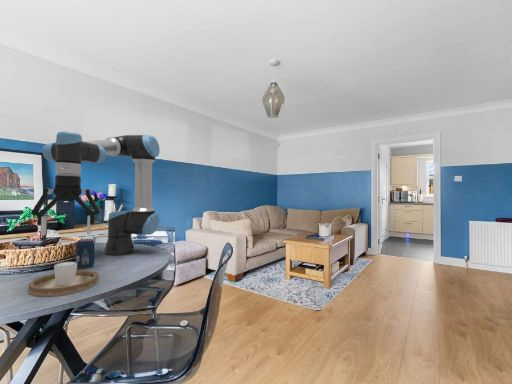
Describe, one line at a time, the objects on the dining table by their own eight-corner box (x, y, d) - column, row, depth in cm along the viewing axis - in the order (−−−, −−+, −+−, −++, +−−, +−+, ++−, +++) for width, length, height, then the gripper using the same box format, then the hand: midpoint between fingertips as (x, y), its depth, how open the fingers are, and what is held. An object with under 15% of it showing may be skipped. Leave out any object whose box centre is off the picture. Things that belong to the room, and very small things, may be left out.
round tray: (91, 273, 109) (91, 267, 109) (104, 286, 94) (104, 280, 94) (27, 284, 95) (27, 277, 95) (30, 301, 80) (31, 294, 80)
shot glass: (64, 287, 91) (65, 267, 91) (48, 285, 92) (48, 265, 92) (81, 280, 97) (82, 262, 97) (66, 279, 99) (66, 260, 99)
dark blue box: (87, 263, 122) (88, 238, 122) (97, 265, 119) (98, 239, 119) (72, 267, 116) (72, 240, 116) (82, 269, 113) (82, 242, 113)
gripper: (19, 173, 86) (18, 237, 86) (106, 176, 96) (105, 234, 96) (28, 174, 93) (27, 233, 93) (108, 177, 103) (107, 231, 103)
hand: (66, 234), depth 95 cm, fingers open, 13 cm apart
